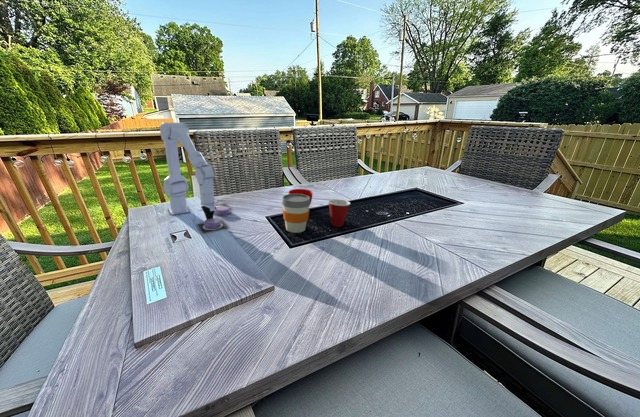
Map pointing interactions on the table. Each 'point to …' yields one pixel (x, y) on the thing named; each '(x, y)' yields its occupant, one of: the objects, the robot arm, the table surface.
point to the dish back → (222, 210)
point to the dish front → (212, 223)
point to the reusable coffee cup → (295, 212)
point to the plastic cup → (338, 211)
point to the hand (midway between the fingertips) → (209, 220)
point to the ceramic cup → (302, 192)
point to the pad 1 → (212, 229)
